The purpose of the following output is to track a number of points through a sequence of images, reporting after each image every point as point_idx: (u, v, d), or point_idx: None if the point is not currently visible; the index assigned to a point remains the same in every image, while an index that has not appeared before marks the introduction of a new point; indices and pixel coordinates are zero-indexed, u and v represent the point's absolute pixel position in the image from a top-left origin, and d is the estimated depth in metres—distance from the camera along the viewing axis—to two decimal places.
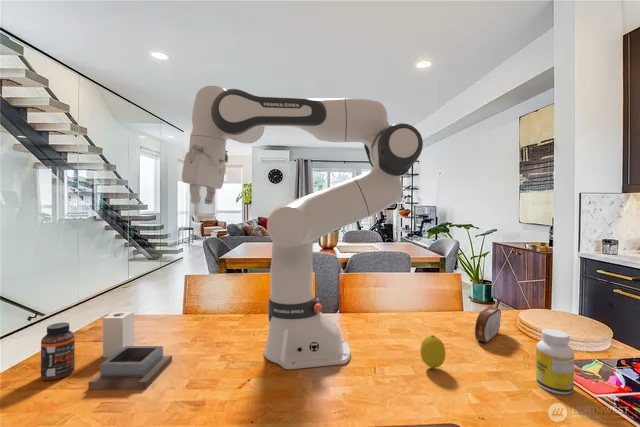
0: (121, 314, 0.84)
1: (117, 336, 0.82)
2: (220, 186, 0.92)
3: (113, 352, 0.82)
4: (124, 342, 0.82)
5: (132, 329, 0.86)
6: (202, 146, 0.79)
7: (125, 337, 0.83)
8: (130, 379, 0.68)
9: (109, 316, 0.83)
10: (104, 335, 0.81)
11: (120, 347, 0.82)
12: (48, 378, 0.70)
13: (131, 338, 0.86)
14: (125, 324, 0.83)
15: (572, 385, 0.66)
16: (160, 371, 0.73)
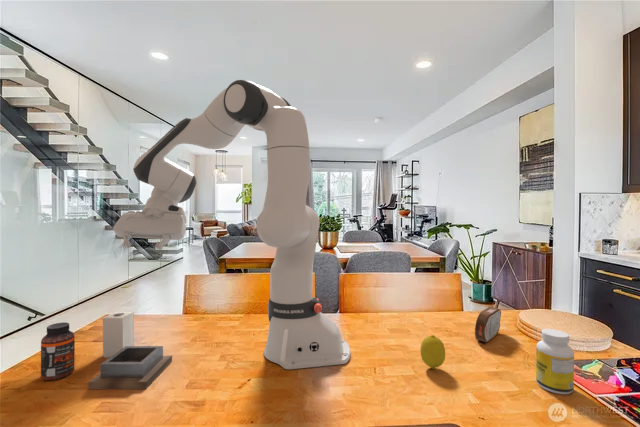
0: (121, 314, 0.84)
1: (117, 336, 0.82)
2: (174, 231, 0.98)
3: (113, 352, 0.82)
4: (124, 342, 0.82)
5: (132, 329, 0.86)
6: None
7: (125, 337, 0.83)
8: (130, 379, 0.68)
9: (109, 316, 0.83)
10: (104, 335, 0.82)
11: (120, 347, 0.82)
12: (48, 378, 0.70)
13: (131, 338, 0.86)
14: (125, 323, 0.83)
15: (572, 385, 0.66)
16: (160, 371, 0.73)
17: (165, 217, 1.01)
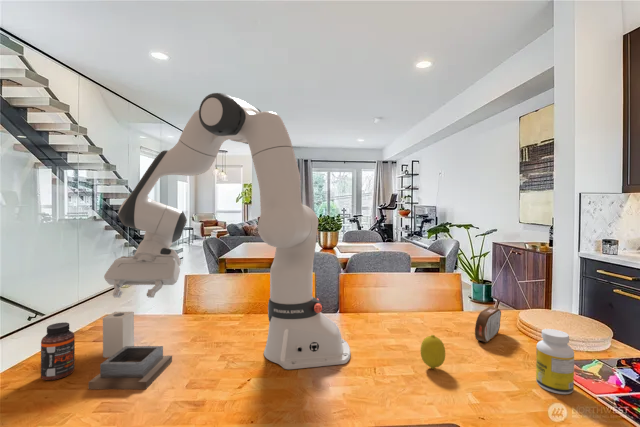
0: (121, 314, 0.84)
1: (117, 335, 0.82)
2: (165, 276, 0.93)
3: (113, 352, 0.82)
4: (124, 341, 0.82)
5: (132, 329, 0.86)
6: None
7: (125, 337, 0.83)
8: (130, 379, 0.68)
9: (109, 316, 0.83)
10: (104, 335, 0.82)
11: (120, 347, 0.82)
12: (48, 378, 0.70)
13: (131, 338, 0.86)
14: (125, 323, 0.83)
15: (572, 385, 0.66)
16: (160, 371, 0.73)
17: (157, 261, 0.96)
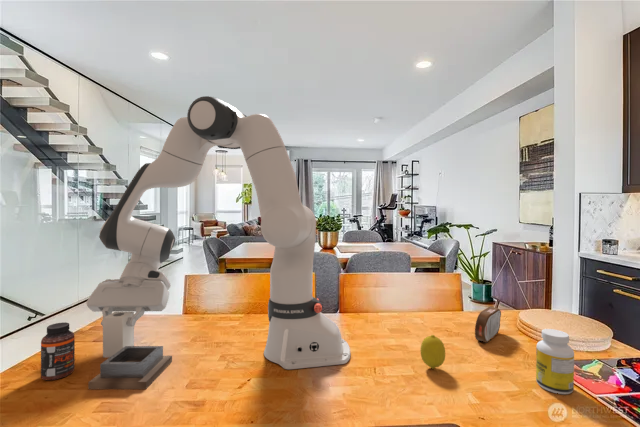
0: (121, 314, 0.84)
1: (117, 335, 0.82)
2: (153, 303, 0.86)
3: (113, 352, 0.82)
4: (124, 341, 0.82)
5: (132, 329, 0.86)
6: None
7: (125, 337, 0.83)
8: (130, 379, 0.68)
9: (109, 316, 0.83)
10: (104, 335, 0.81)
11: (120, 347, 0.82)
12: (48, 378, 0.70)
13: (131, 338, 0.86)
14: (125, 323, 0.83)
15: (572, 385, 0.66)
16: (160, 371, 0.73)
17: (144, 285, 0.89)
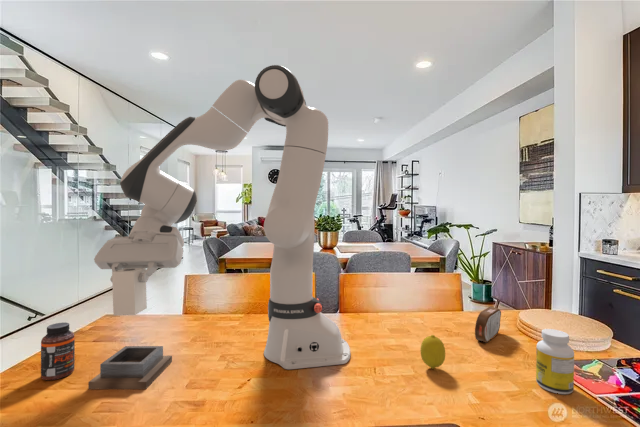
0: (132, 269, 0.77)
1: (128, 291, 0.74)
2: (166, 257, 0.79)
3: (124, 309, 0.74)
4: (136, 298, 0.75)
5: (144, 286, 0.78)
6: None
7: (137, 294, 0.76)
8: (130, 379, 0.68)
9: (119, 271, 0.75)
10: (114, 291, 0.74)
11: (132, 304, 0.74)
12: (48, 378, 0.70)
13: (144, 296, 0.78)
14: (136, 278, 0.75)
15: (572, 385, 0.66)
16: (160, 371, 0.73)
17: (156, 241, 0.82)
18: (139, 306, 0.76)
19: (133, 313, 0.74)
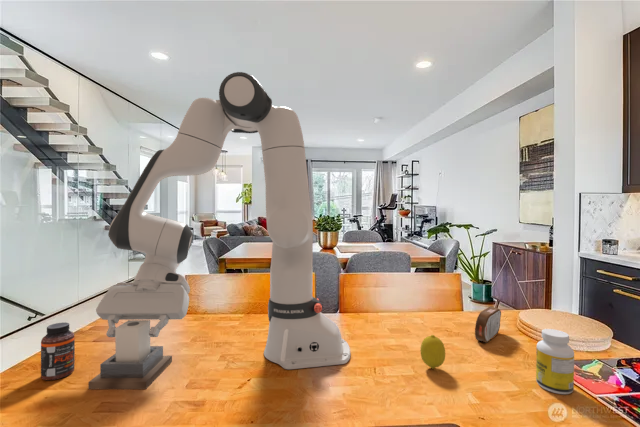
0: (136, 323, 0.73)
1: (132, 348, 0.71)
2: (172, 310, 0.75)
3: None
4: (140, 355, 0.72)
5: (148, 340, 0.75)
6: None
7: (141, 350, 0.72)
8: (130, 379, 0.68)
9: (122, 326, 0.72)
10: (117, 348, 0.71)
11: None
12: (48, 378, 0.70)
13: (148, 351, 0.75)
14: (141, 334, 0.72)
15: (572, 385, 0.66)
16: (160, 371, 0.73)
17: (162, 290, 0.78)
18: None
19: None
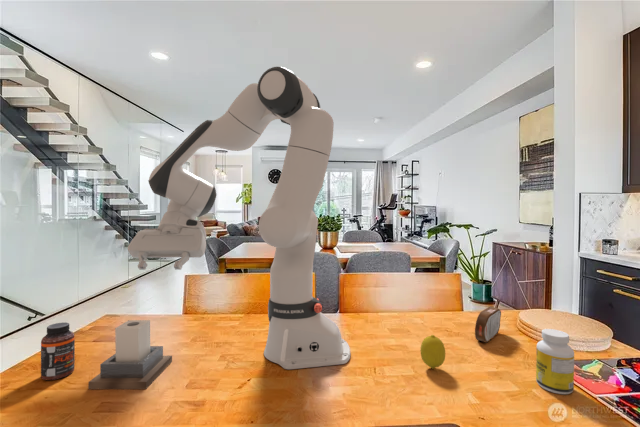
0: (136, 323, 0.73)
1: (132, 348, 0.71)
2: (193, 248, 0.88)
3: None
4: (140, 355, 0.72)
5: (148, 340, 0.75)
6: None
7: (141, 350, 0.72)
8: (130, 379, 0.68)
9: (122, 326, 0.72)
10: (117, 348, 0.71)
11: None
12: (48, 378, 0.70)
13: (148, 351, 0.75)
14: (141, 334, 0.72)
15: (572, 385, 0.66)
16: (160, 371, 0.73)
17: (183, 233, 0.91)
18: None
19: None
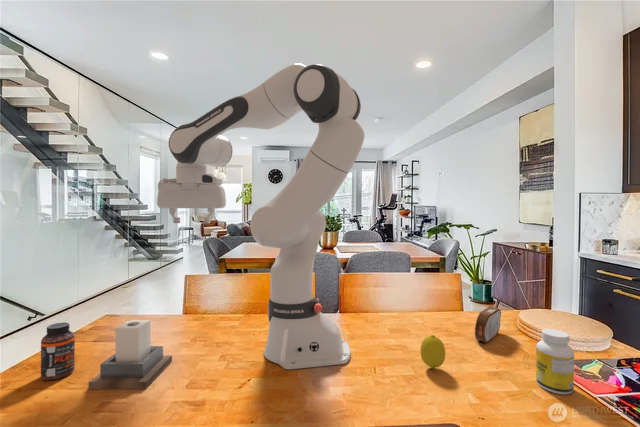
0: (136, 323, 0.73)
1: (132, 348, 0.71)
2: (216, 206, 0.98)
3: None
4: (140, 355, 0.72)
5: (148, 340, 0.75)
6: None
7: (141, 350, 0.72)
8: (130, 379, 0.68)
9: (122, 326, 0.72)
10: (117, 348, 0.71)
11: None
12: (48, 378, 0.70)
13: (148, 351, 0.75)
14: (141, 334, 0.72)
15: (572, 385, 0.66)
16: (160, 371, 0.73)
17: (202, 189, 0.98)
18: None
19: None
